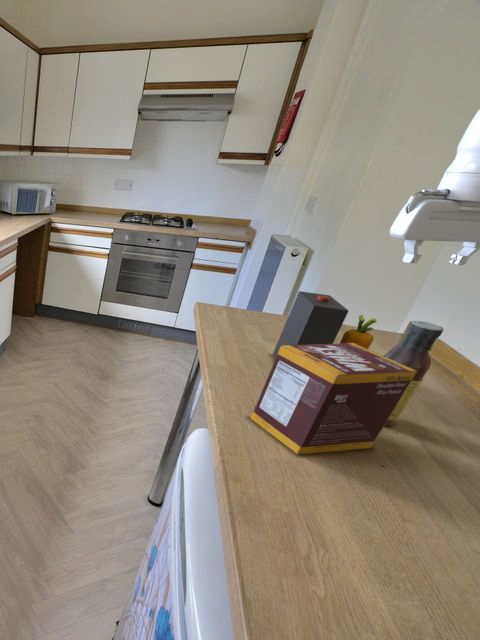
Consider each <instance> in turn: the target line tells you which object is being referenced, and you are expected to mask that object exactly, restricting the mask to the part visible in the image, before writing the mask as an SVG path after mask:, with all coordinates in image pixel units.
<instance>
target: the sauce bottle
mask: <svg viewBox="0 0 480 640" xmlns="http://www.w3.org/2000/svg"><path fill="white" fill-rule="evenodd" d="M443 332H444V327H442V326H440V325H437V324H436V323H433V322H429V321H424V320H423V321H422V320H413V321H411V322H410V323H409V325H408V326H407V331H406V333H405V334H404V336H403V338H402V339H401V341H400V342H399V343H397V344H396V345H395V346H394V347H392V348H391V349H390V350H389V351H387V353H385V354H383V356H384V357H386V358H388V359H391V360H393V361H395V362H398V363H400V364H402V365H404V366H407V367H409V368H411V369H414V370H416V371H417V372H416V373H415V375H414V377H413V378H412V380H411V382H410V383H409V385H408V387H407V388H406V390H405V392H404V393H403V395H402V397H401V398H400V400H399V402H398V403H397V405H396V406H395V408H394V410H393V411H392V413H391V415H390V416H389V418H388V420H387V421H386V423H385V425H384V426H390V425H393V424H395V422H396V421H397V420H398V419H399V418H400V417H401V415H402V413H403V412H404V410H405V409H406V407H407V405H409V402H410V401H411V399H412V398H413V396H414V394H415V393H416V391H417V390H418V389H419V387H420V385H421V383H422V382H423V380H424V377H425V375H426V374H427V373H428V371H429V370H430V367H431V365H432V364H431V357H430V353H429V352H430V351H431V350H432V347H433V346H434V344H435V342H436V340H437V339H438V338H440V337H441V336H442V334H443Z"/></svg>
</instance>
